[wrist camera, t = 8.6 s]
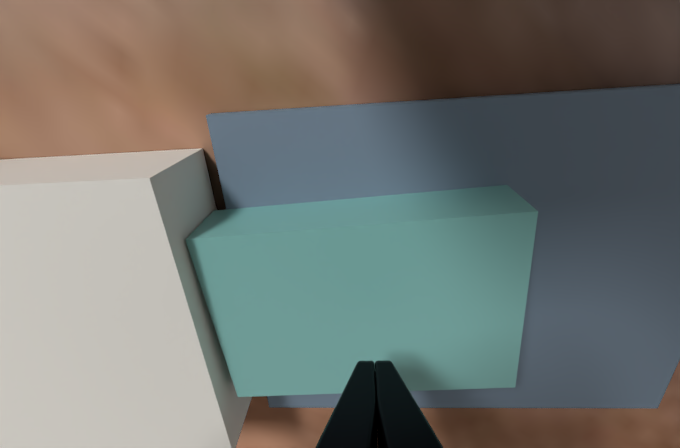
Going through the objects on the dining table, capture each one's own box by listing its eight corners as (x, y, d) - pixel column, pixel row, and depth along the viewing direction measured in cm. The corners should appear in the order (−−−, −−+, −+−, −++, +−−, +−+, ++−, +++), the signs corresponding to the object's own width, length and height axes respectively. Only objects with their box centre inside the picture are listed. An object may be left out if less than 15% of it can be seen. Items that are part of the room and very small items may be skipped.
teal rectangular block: (507, 184, 10) (538, 211, 9) (493, 341, 13) (515, 387, 11) (213, 210, 11) (185, 239, 9) (254, 352, 14) (237, 397, 12)
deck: (202, 148, 11) (148, 178, 8) (256, 382, 15) (233, 454, 12) (-200, 170, 12) (-366, 203, 9) (-45, 383, 16) (-128, 449, 13)
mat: (789, 76, 9) (807, 77, 9) (649, 399, 14) (657, 408, 14) (211, 113, 10) (205, 115, 10) (271, 399, 15) (269, 407, 15)
